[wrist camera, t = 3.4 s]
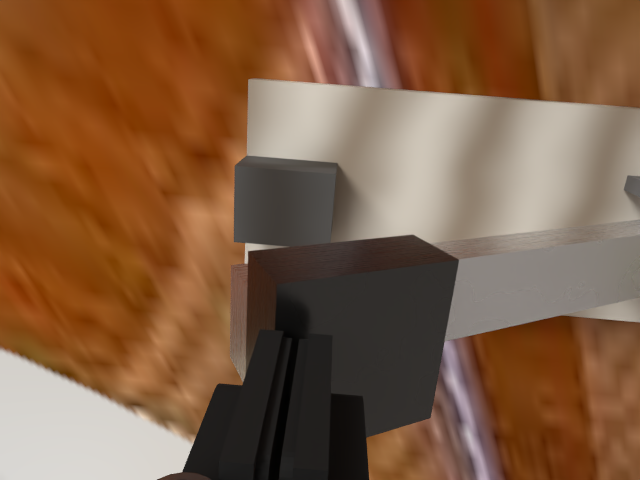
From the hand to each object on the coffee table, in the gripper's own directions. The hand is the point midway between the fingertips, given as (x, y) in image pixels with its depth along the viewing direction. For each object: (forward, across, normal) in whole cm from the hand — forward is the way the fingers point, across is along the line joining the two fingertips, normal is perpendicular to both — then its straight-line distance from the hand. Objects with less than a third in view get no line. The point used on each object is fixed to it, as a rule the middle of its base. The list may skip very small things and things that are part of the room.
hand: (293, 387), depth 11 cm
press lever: (+8, -8, 0) cm, 11 cm away
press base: (+19, -9, 0) cm, 21 cm away
